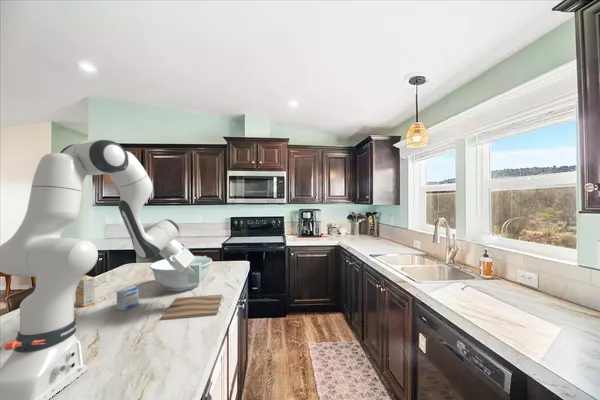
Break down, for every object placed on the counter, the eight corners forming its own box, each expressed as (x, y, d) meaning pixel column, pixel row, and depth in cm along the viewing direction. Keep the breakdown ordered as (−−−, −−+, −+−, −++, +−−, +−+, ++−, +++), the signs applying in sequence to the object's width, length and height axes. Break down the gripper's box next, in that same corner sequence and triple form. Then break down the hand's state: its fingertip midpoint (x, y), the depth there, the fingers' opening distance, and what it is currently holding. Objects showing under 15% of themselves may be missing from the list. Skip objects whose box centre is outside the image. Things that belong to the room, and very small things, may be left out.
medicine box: (124, 310, 117) (124, 291, 117) (116, 310, 118) (116, 291, 118) (138, 304, 125) (138, 286, 125) (131, 303, 126) (130, 285, 126)
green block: (199, 282, 119) (199, 265, 119) (187, 283, 118) (187, 265, 118) (201, 279, 124) (201, 262, 124) (190, 280, 123) (190, 263, 123)
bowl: (184, 300, 129) (184, 271, 129) (135, 293, 140) (135, 266, 140) (223, 281, 160) (223, 257, 160) (181, 276, 170) (181, 254, 170)
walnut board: (216, 315, 112) (216, 312, 112) (161, 320, 108) (161, 317, 108) (222, 296, 134) (222, 294, 134) (176, 300, 129) (176, 297, 129)
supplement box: (74, 304, 125) (74, 277, 125) (86, 301, 129) (86, 274, 129) (83, 307, 121) (83, 279, 121) (95, 304, 125) (95, 276, 126)
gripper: (171, 251, 109) (196, 272, 111) (184, 243, 129) (204, 261, 131) (160, 262, 108) (185, 284, 110) (174, 252, 128) (195, 271, 130)
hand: (196, 271), depth 121 cm, fingers closed on green block, 5 cm apart
